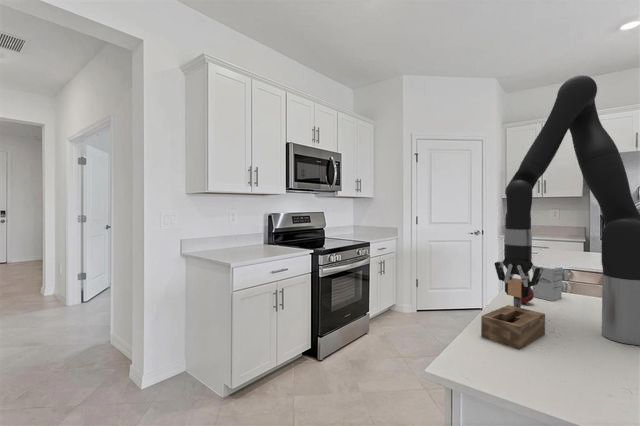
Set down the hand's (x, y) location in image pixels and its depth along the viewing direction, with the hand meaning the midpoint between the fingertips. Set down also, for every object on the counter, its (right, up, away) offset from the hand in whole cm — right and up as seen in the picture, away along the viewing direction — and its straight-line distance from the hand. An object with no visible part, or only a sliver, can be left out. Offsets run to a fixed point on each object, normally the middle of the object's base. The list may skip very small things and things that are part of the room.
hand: (517, 295), depth 105 cm
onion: (+13, -7, +17) cm, 22 cm away
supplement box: (+26, -7, +24) cm, 36 cm away
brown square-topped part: (0, -8, 0) cm, 8 cm away
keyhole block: (-8, -8, -12) cm, 17 cm away
